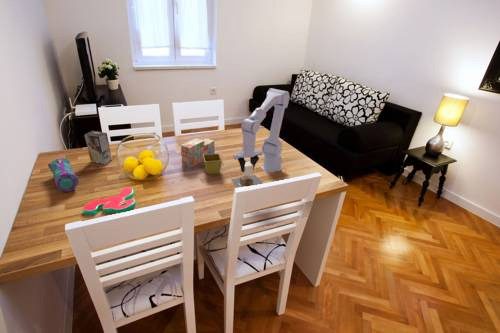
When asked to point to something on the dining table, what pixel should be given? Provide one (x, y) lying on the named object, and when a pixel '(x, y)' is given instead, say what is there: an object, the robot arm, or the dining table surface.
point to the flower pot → (212, 163)
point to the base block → (246, 181)
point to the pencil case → (63, 174)
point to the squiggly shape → (112, 203)
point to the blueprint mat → (254, 177)
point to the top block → (248, 169)
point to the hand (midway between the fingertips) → (247, 170)
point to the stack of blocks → (196, 151)
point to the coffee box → (98, 147)
